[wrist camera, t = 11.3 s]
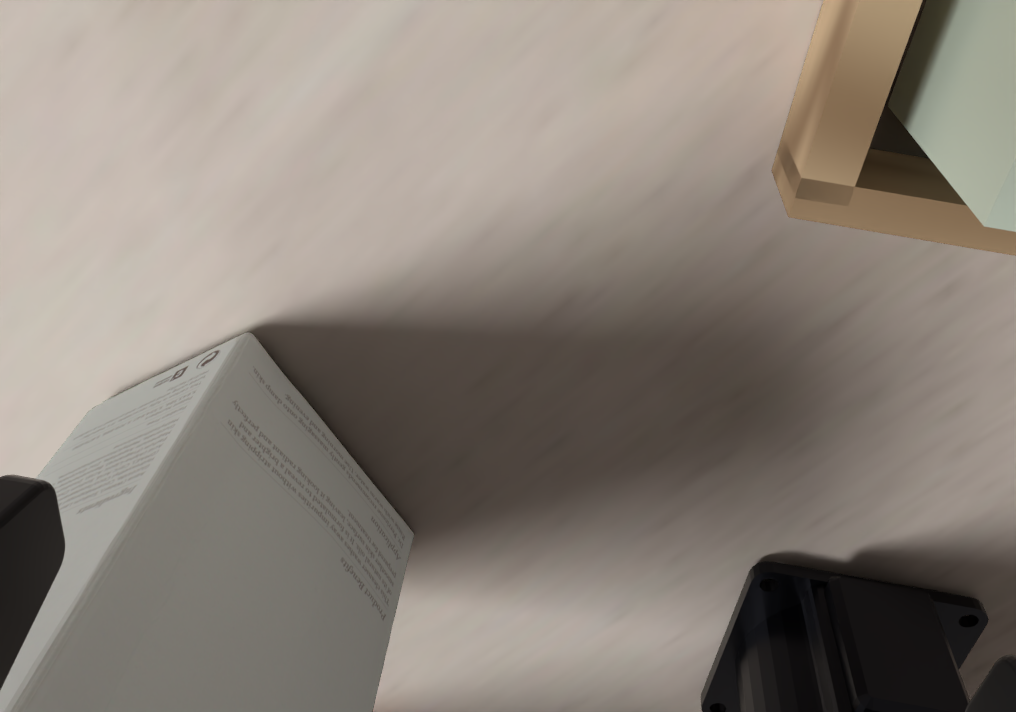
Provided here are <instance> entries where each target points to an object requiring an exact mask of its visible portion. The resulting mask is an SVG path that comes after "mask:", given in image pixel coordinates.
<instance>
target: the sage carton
mask: <svg viewBox="0 0 1016 712" xmlns="http://www.w3.org/2000/svg"><path fill="white" fill-rule="evenodd" d="M888 107H889V108H890V109H891V110H892V112H893V113H894V114H895V115H896V117H897V118H898V119H899V120H900V122H901V123H902V124H903V126H904V127H905V128H906V129H907V131H908V132H909V133H910V134H911V136H912V137H913V138H914V139H915V141H916V142H917V143H918V144H919V146H920V147H921V148H922V149H923V151H924V152H925V153H926V154H927V156H928V157H929V158H930V159H931V161H932V162H933V163H934V164H935V166H936V167H937V168H938V169H939V171H940V172H941V173H942V174H943V176H944V177H945V178H946V179H947V181H948V182H949V183H950V185H951V186H952V187H953V188H954V190H955V191H956V192H957V193H958V195H959V196H960V197H961V198H962V200H963V201H964V202H965V203H966V205H967V206H968V207H969V208H970V210H971V211H972V212H973V213H974V215H975V216H976V217H977V218H978V220H979V221H980V222H981V223H982V225H983V226H985V227H990V228H996V229H1002V230H1008V231H1013V232H1016V0H927V1H926V3H925V6H924V9H923V11H922V14H921V17H920V19H919V22H918V25H917V27H916V30H915V33H914V35H913V38H912V41H911V44H910V46H909V49H908V52H907V54H906V57H905V60H904V62H903V65H902V68H901V70H900V73H899V76H898V78H897V81H896V84H895V87H894V89H893V92H892V95H891V97H890V100H889V103H888Z"/></svg>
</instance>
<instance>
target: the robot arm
mask: <svg viewBox="0 0 1016 712" xmlns="http://www.w3.org/2000/svg"><path fill="white" fill-rule="evenodd" d="M64 554H65V538H64V532H63V527H62V522H61V517H60V511H59V506H58V501H57V496H56V492H55V489H54V487H53V486H52V485H51V484H50V483H49V482H47V481H45V480H40V479H34V478H29V477H23V476H18V475H6V476H2V477H0V690H1V688H2V686H3V684H4V682H5V680H6V678H7V676H8V674H9V672H10V670H11V668H12V666H13V664H14V662H15V660H16V658H17V655H18V653H19V651H20V649H21V647H22V645H23V643H24V641H25V639H26V637H27V635H28V633H29V631H30V629H31V627H32V625H33V623H34V621H35V619H36V617H37V615H38V613H39V611H40V608H41V606H42V604H43V602H44V600H45V598H46V596H47V594H48V592H49V590H50V588H51V586H52V584H53V582H54V580H55V578H56V576H57V574H58V572H59V570H60V567H61V565H62V562H63V559H64ZM770 578H772V579H773V580H770V581H764V579H770ZM965 615H968V616H965ZM987 622H988V617H987V614H986V611H985V609H984V607H983V604H982V603H981V602H980V601H979V600H977V599H974V598H971V597H965V596H960V595H954V594H949V593H943V592H938V591H932V590H927V589H921V588H915V587H910V586H904V585H899V584H893V583H888V582H882V581H877V580H871V579H865V578H860V577H854V576H849V575H843V574H838V573H832V572H827V571H821V570H816V569H810V568H804V567H799V566H793V565H788V564H782V563H777V562H766V561H765V562H761V563H758V564H756V565H755V566H753V567H752V568H751V570H750V571H749V574H748V576H747V579H746V581H745V584H744V587H743V589H742V592H741V594H740V597H739V599H738V602H737V604H736V607H735V609H734V612H733V615H732V617H731V620H730V622H729V625H728V627H727V630H726V632H725V635H724V637H723V640H722V643H721V645H720V648H719V650H718V653H717V655H716V658H715V660H714V663H713V665H712V668H711V671H710V673H709V676H708V678H707V681H706V683H705V686H704V688H703V691H702V693H701V709H702V711H703V712H1016V656H1014V655H1006V656H1004V657H1002V658H1000V659H998V660H997V662H996V663H995V664H994V666H993V667H992V669H991V670H990V672H989V673H988V675H987V676H986V678H985V679H984V681H983V683H982V684H981V686H980V687H979V689H978V690H977V692H976V693H975V695H974V696H973V698H972V699H971V701H970V700H969V697H968V695H967V692H966V689H965V686H964V684H963V681H962V678H961V675H960V673H959V668H960V667H961V665H962V663H963V662H964V660H965V659H966V657H967V655H968V654H969V652H970V651H971V649H972V647H973V646H974V644H975V643H976V641H977V639H978V638H979V636H980V635H981V633H982V631H983V630H984V628H985V627H986V625H987Z"/></svg>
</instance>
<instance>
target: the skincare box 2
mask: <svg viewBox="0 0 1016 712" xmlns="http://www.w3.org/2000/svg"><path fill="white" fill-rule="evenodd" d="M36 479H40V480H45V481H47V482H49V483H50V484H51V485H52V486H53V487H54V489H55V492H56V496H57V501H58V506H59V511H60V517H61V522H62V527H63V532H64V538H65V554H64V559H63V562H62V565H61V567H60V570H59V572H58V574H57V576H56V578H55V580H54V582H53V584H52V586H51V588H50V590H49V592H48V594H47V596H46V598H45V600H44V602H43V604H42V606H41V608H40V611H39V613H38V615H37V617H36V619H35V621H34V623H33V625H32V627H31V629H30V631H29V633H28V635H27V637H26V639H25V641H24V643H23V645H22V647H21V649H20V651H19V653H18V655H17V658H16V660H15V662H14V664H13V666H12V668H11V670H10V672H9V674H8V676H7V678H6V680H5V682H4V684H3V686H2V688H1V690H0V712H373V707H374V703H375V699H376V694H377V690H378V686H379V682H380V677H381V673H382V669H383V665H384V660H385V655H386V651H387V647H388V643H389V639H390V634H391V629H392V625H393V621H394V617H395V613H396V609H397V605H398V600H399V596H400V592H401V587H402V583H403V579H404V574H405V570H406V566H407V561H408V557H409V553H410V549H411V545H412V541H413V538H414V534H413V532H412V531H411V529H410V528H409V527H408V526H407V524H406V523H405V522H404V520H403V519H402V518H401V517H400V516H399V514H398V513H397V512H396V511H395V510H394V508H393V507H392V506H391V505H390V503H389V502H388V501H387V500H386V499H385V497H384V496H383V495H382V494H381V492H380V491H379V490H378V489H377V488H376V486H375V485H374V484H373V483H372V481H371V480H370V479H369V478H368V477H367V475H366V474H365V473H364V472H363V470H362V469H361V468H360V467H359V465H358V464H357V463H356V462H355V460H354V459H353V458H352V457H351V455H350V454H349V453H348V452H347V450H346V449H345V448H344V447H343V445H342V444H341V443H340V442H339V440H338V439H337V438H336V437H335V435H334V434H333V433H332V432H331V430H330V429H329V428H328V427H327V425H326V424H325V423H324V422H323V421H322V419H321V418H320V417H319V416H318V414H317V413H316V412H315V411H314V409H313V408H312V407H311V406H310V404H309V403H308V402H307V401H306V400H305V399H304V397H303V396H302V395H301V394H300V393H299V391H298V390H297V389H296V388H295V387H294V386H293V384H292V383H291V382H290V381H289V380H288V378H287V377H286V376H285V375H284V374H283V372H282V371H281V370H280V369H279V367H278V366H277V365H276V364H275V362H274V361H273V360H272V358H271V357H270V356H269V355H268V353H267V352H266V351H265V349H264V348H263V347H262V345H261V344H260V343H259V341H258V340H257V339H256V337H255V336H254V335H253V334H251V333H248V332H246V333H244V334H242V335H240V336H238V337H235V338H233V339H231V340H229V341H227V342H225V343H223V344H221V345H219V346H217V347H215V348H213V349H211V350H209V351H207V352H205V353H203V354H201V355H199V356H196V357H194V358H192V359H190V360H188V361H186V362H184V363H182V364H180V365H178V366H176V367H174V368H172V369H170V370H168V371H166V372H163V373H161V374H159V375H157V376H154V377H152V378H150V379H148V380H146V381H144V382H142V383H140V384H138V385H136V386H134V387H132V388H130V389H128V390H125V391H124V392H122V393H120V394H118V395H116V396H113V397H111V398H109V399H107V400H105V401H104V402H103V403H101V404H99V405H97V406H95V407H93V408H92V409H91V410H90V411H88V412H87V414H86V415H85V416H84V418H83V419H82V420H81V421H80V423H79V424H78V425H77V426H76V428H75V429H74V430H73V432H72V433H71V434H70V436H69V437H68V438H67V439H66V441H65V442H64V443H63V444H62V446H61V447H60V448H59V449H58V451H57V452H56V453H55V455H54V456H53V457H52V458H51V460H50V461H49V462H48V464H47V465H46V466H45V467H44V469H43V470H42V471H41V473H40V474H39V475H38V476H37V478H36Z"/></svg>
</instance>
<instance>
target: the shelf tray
mask: <svg viewBox="0 0 1016 712" xmlns="http://www.w3.org/2000/svg"><path fill="white" fill-rule="evenodd" d="M922 1H923V0H824V1H823V4H822V7H821V10H820V14H819V17H818V20H817V24H816V27H815V30H814V33H813V37H812V40H811V43H810V46H809V50H808V53H807V56H806V59H805V63H804V66H803V69H802V73H801V76H800V79H799V82H798V86H797V89H796V92H795V95H794V99H793V102H792V105H791V108H790V112H789V115H788V118H787V121H786V125H785V128H784V131H783V135H782V138H781V141H780V144H779V148H778V151H777V154H776V157H775V161H774V164H773V167H772V173H773V175H774V178H775V181H776V184H777V187H778V189H779V192H780V195H781V198H782V201H783V203H784V206H785V209H786V212H787V215H788V217H791V218H797V219H802V220H808V221H814V222H820V223H826V224H832V225H838V226H844V227H850V228H856V229H862V230H867V231H873V232H879V233H885V234H891V235H897V236H903V237H909V238H915V239H921V240H926V241H932V242H938V243H944V244H950V245H956V246H962V247H968V248H974V249H980V250H985V251H991V252H997V253H1003V254H1009V255H1015V256H1016V232H1013V231H1008V230H1002V229H996V228H990V227H985V226H983V225H982V223H981V222H980V221H979V220H978V218H977V217H976V216H975V215H974V213H973V212H972V211H971V210H970V208H969V207H968V206H967V205H966V203H965V202H964V201H963V200H962V198H961V197H960V196H959V195H958V193H957V192H956V191H955V190H954V188H953V187H952V186H951V185H950V183H949V182H948V181H947V179H946V178H945V177H944V176H943V174H942V173H941V172H940V171H939V169H938V168H937V167H936V166H935V164H934V163H933V162H932V161H931V159H929V158H923V157H917V156H911V155H905V154H899V153H893V152H887V151H881V150H875V149H869V147H870V144H871V141H872V138H873V136H874V133H875V130H876V127H877V125H878V122H879V119H880V116H881V113H882V111H883V108H884V105H885V102H886V100H887V97H888V94H889V91H890V89H891V86H892V83H893V80H894V78H895V75H896V72H897V69H898V67H899V64H900V61H901V58H902V56H903V53H904V50H905V47H906V45H907V42H908V39H909V36H910V34H911V31H912V28H913V25H914V23H915V20H916V17H917V14H918V12H919V9H920V6H921V3H922Z"/></svg>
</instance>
